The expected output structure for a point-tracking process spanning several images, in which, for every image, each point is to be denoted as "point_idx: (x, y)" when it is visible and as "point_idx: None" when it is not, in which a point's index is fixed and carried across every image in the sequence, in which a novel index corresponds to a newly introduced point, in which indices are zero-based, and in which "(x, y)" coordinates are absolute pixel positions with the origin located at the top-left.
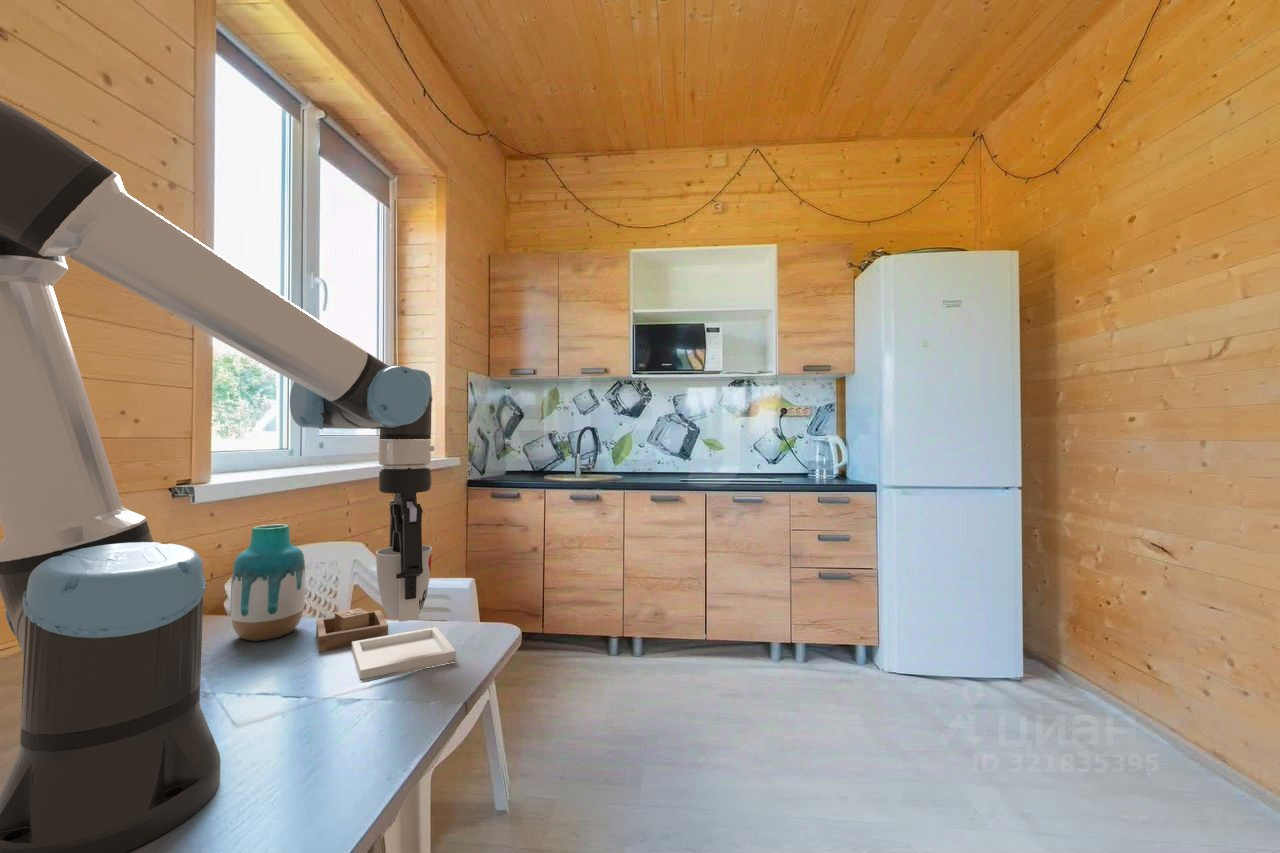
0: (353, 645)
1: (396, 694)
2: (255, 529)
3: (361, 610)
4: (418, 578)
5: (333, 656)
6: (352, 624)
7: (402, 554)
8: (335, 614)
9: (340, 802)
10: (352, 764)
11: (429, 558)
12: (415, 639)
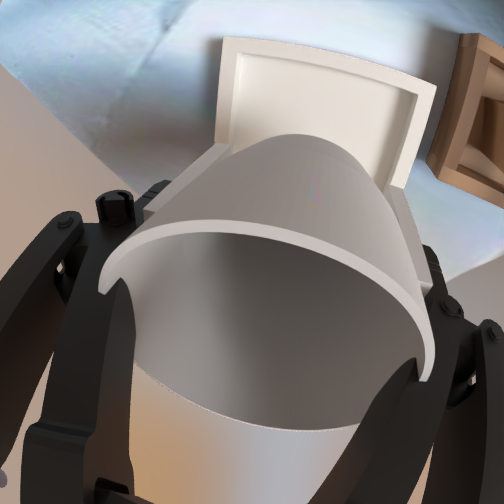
0: (407, 75)
1: (150, 82)
2: None
3: None
4: None
5: (437, 50)
6: (501, 126)
7: (75, 292)
8: None
9: (9, 33)
10: (37, 33)
11: (192, 362)
12: None
